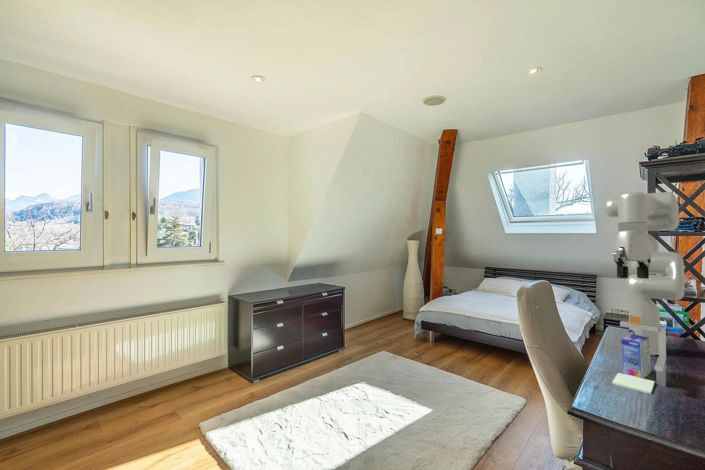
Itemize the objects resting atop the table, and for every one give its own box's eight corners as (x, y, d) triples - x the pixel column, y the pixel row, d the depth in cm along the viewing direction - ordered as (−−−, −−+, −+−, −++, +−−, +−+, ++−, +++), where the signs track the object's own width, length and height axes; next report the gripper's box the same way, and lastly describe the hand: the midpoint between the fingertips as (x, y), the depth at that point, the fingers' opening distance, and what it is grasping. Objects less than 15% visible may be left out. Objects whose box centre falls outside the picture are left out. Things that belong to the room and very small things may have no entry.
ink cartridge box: (631, 367, 115) (630, 327, 115) (651, 372, 110) (650, 330, 110) (621, 373, 109) (620, 331, 109) (642, 379, 105) (641, 335, 105)
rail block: (657, 381, 104) (657, 362, 104) (666, 383, 102) (666, 364, 102) (656, 384, 101) (656, 365, 101) (665, 386, 99) (665, 367, 100)
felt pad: (618, 374, 109) (618, 372, 109) (654, 383, 102) (654, 381, 102) (612, 384, 101) (612, 382, 101) (650, 394, 95) (650, 392, 95)
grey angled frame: (621, 350, 114) (621, 313, 114) (666, 359, 105) (665, 319, 106) (613, 361, 104) (613, 320, 104) (662, 371, 95) (661, 327, 96)
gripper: (637, 230, 117) (638, 277, 116) (602, 227, 112) (603, 276, 111) (662, 229, 110) (663, 279, 109) (626, 226, 105) (627, 278, 104)
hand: (632, 278), depth 110 cm, fingers open, 9 cm apart
